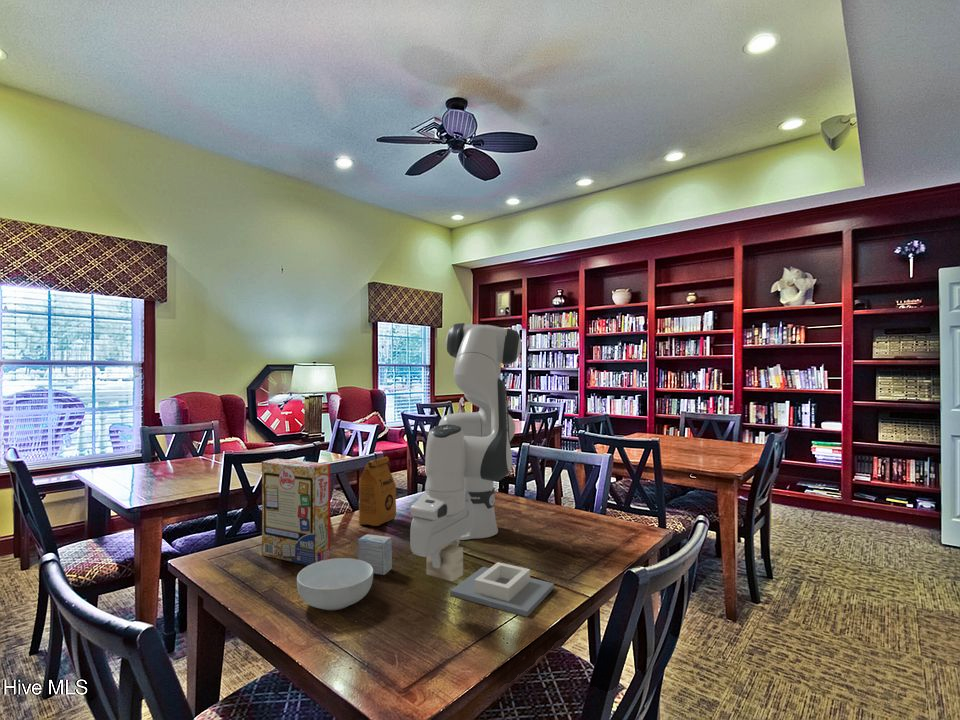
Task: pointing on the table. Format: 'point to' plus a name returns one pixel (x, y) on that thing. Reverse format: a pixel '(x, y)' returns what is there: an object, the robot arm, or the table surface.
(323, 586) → the cereal bowl
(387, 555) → the medicine box
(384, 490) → the coffee package
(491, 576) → the cradle
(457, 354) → the robot arm
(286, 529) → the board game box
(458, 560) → the key block
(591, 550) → the table surface
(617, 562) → the table surface
